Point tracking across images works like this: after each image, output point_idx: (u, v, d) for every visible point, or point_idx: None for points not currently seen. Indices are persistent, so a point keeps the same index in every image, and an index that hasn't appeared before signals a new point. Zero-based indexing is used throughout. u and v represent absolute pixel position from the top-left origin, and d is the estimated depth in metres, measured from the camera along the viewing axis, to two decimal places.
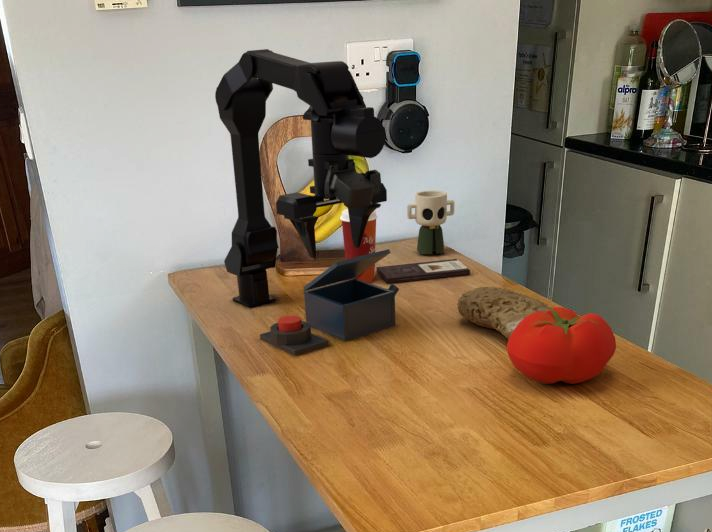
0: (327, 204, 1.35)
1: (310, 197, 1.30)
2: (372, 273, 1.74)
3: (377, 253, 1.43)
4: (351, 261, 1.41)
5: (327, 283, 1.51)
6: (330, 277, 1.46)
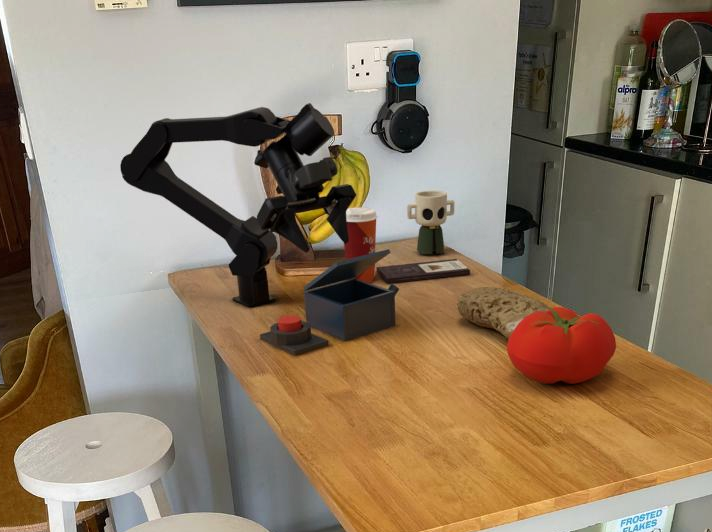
0: (303, 208, 1.49)
1: (279, 196, 1.45)
2: (372, 273, 1.74)
3: (377, 253, 1.43)
4: (351, 261, 1.41)
5: (327, 283, 1.51)
6: (330, 277, 1.46)
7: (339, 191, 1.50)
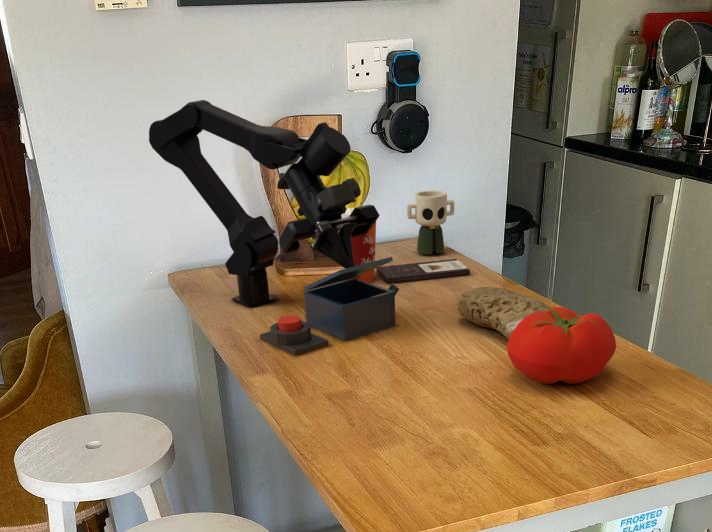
0: None
1: (302, 219, 1.42)
2: (372, 273, 1.74)
3: (380, 261, 1.44)
4: (354, 269, 1.41)
5: (327, 284, 1.51)
6: (331, 280, 1.46)
7: (362, 212, 1.47)
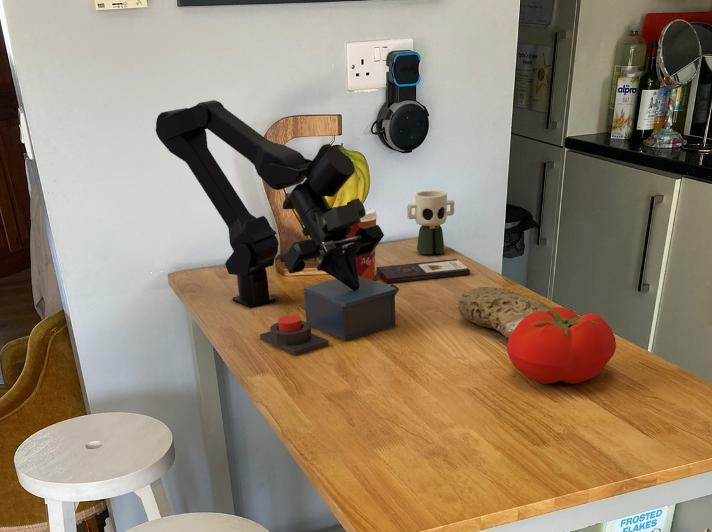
0: None
1: None
2: (372, 273, 1.74)
3: (385, 293, 1.46)
4: (359, 302, 1.43)
5: None
6: None
7: (367, 232, 1.48)
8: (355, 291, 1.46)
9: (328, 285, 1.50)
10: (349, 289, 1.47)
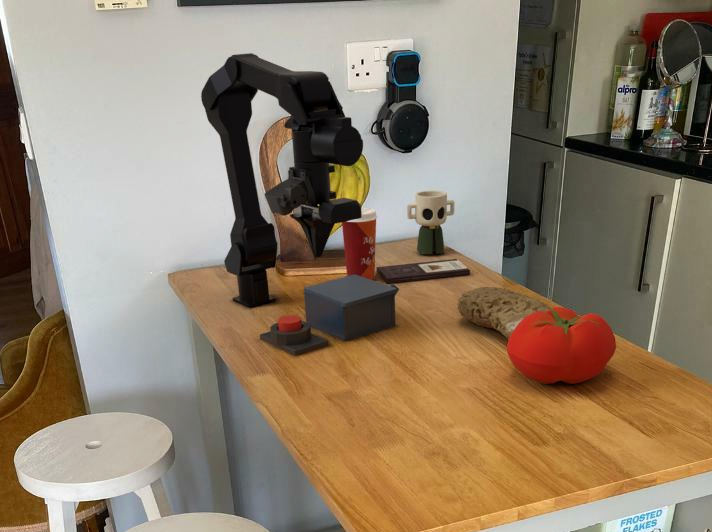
0: None
1: None
2: (372, 273, 1.74)
3: (385, 293, 1.46)
4: (359, 302, 1.43)
5: None
6: None
7: (319, 214, 1.34)
8: (355, 291, 1.46)
9: (328, 285, 1.50)
10: (349, 289, 1.47)
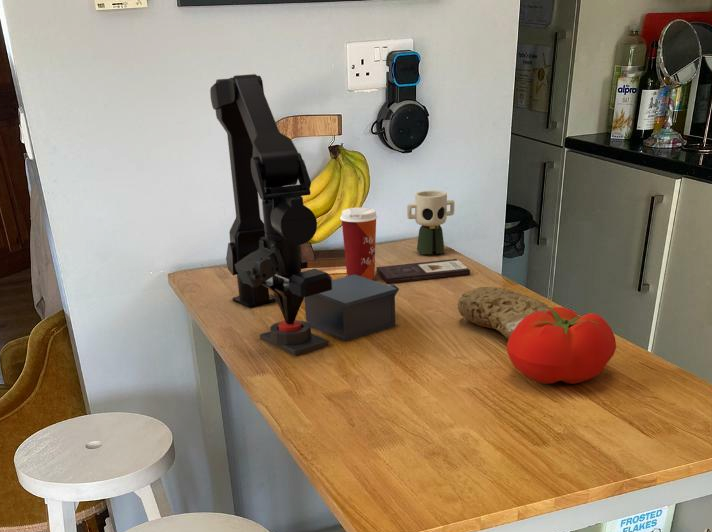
0: None
1: None
2: (372, 273, 1.74)
3: (385, 293, 1.46)
4: (359, 302, 1.43)
5: None
6: None
7: (289, 286, 1.34)
8: (355, 291, 1.46)
9: None
10: (349, 289, 1.47)
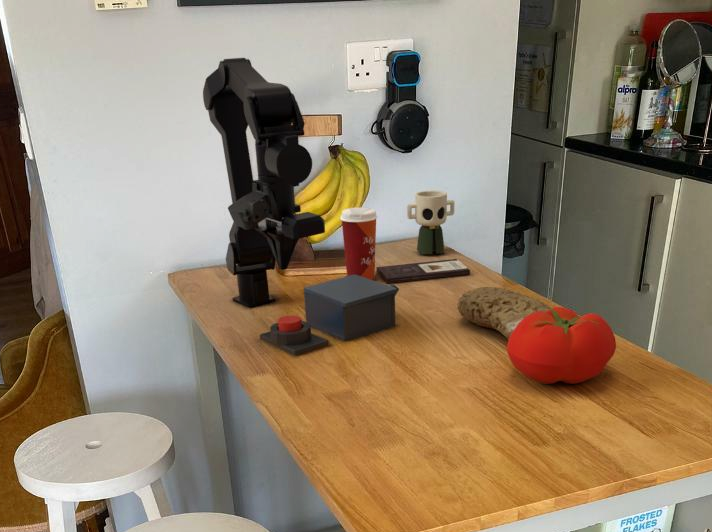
0: None
1: None
2: (372, 273, 1.74)
3: (385, 293, 1.46)
4: (359, 302, 1.43)
5: None
6: None
7: (282, 228, 1.34)
8: (355, 291, 1.46)
9: (328, 285, 1.50)
10: (349, 289, 1.47)
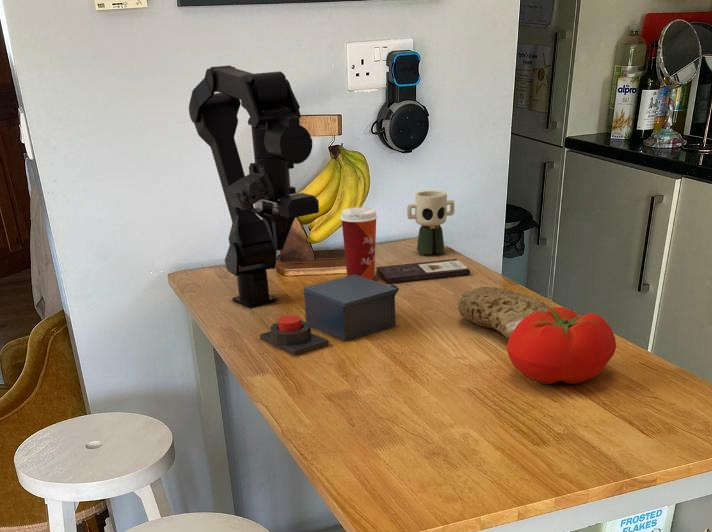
0: None
1: None
2: (372, 273, 1.74)
3: (385, 293, 1.46)
4: (359, 302, 1.43)
5: None
6: None
7: (278, 208, 1.39)
8: (355, 291, 1.46)
9: (328, 285, 1.50)
10: (349, 289, 1.47)
